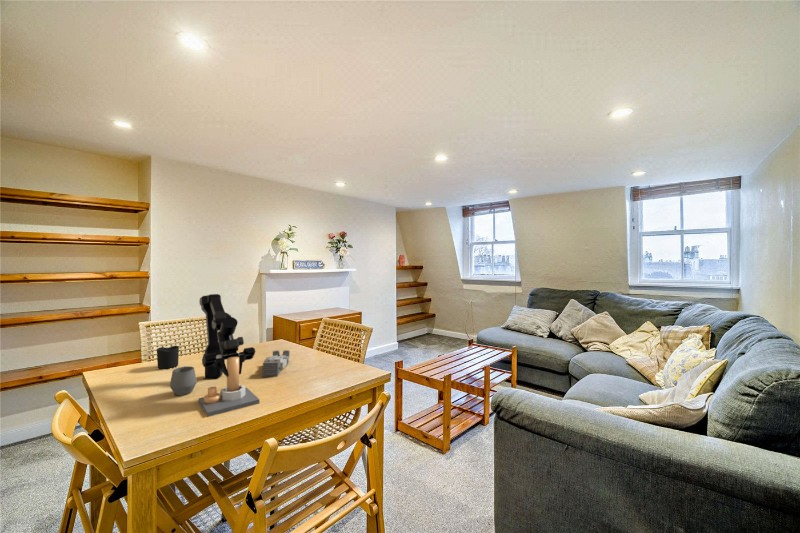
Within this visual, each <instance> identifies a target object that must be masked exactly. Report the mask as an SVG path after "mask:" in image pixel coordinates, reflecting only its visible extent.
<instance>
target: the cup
mask: <svg viewBox="0 0 800 533" xmlns="http://www.w3.org/2000/svg"><path fill="white" fill-rule="evenodd" d="M196 384H197V375H196V370H195V367H194V366H190V365H189V366H181V367H175V369H174V368H173V370H172V373H171V378H170V382H169V387H170V389H171V390H172V392H173V394H174V395H176V396H185V395H188V394H190V393H193V391H194V389H195V387H196Z"/></svg>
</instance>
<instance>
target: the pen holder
mask: <svg viewBox="0 0 800 533" xmlns="http://www.w3.org/2000/svg"><path fill="white" fill-rule="evenodd" d="M179 350H180V346H179V345H173V346H170V347H166V346H165V347H164V346H162V347H161V346H160V347H157V348H156V359H157V369H159V370H161V369H166V370H171V369H170V368H172V369H174V367H175V368H178V366H179V357H180V356H179V352H180V351H179Z"/></svg>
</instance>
